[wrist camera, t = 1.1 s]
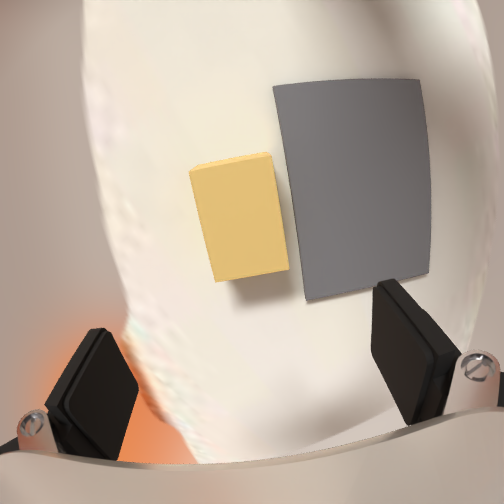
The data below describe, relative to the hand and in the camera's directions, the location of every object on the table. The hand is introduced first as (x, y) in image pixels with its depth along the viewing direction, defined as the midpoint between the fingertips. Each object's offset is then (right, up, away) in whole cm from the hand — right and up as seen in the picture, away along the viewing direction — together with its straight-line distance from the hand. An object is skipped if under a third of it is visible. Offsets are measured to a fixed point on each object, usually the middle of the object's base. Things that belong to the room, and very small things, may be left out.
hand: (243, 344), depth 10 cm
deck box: (-1, +7, +17) cm, 18 cm away
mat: (+11, +9, +16) cm, 21 cm away
